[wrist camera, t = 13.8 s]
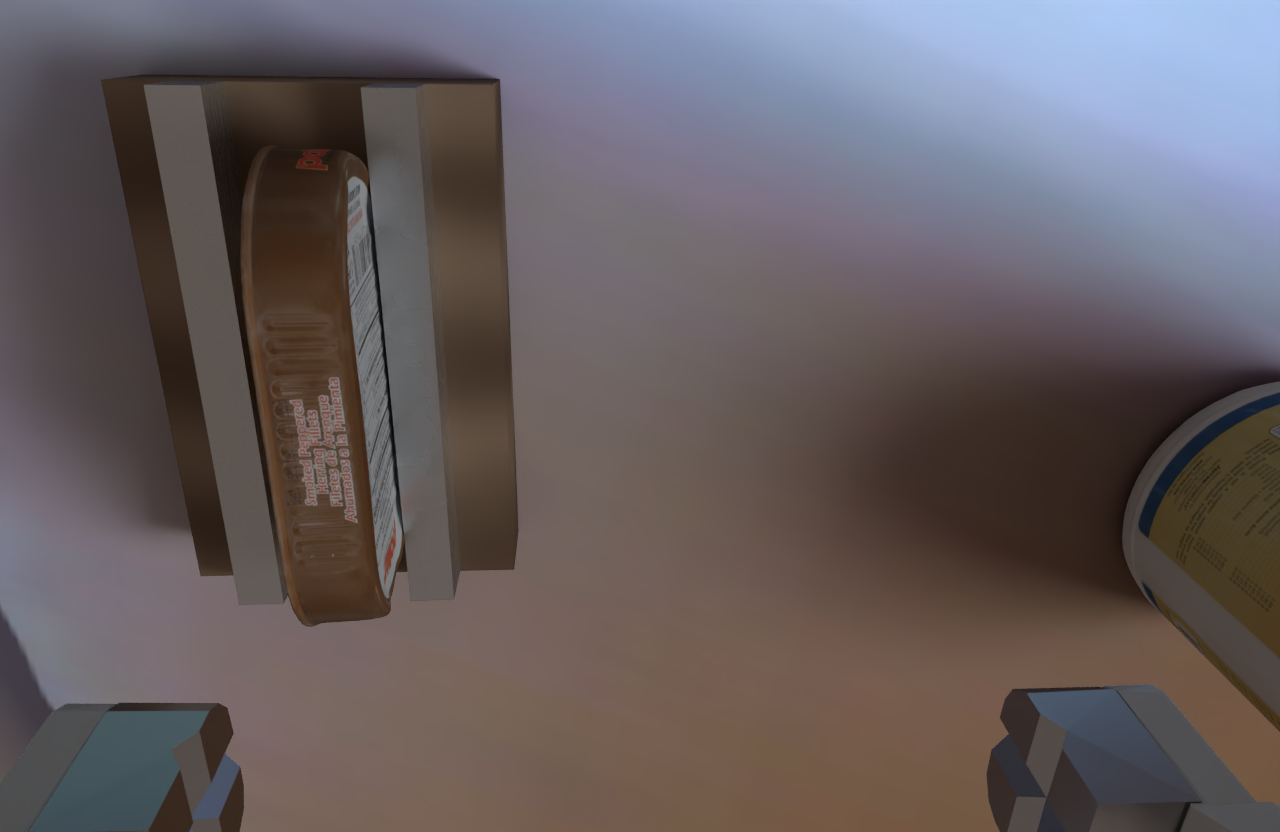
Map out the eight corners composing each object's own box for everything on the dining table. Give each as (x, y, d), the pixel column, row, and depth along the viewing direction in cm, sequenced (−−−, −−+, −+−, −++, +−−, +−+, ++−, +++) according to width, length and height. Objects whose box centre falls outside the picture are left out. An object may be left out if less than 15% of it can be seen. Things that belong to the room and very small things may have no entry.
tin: (293, 129, 29) (192, 167, 22) (393, 131, 30) (329, 169, 22) (343, 539, 35) (278, 683, 28) (426, 538, 36) (384, 681, 28)
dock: (142, 74, 31) (68, 83, 27) (499, 79, 32) (487, 89, 27) (227, 536, 38) (180, 606, 34) (518, 530, 39) (510, 598, 35)
